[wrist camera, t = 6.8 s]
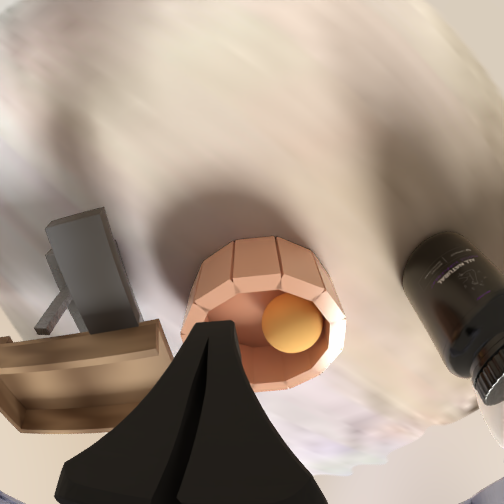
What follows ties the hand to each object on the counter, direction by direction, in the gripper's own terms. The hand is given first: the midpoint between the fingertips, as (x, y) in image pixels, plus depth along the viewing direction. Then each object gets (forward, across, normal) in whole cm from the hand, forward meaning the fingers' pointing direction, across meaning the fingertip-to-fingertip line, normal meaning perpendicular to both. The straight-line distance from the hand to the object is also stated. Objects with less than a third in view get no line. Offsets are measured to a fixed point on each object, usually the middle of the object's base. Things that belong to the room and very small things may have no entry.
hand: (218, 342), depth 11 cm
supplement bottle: (+10, -15, +5) cm, 19 cm away
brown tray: (+5, +12, +3) cm, 13 cm away
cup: (+10, -1, +6) cm, 12 cm away
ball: (+8, -3, +6) cm, 10 cm away
